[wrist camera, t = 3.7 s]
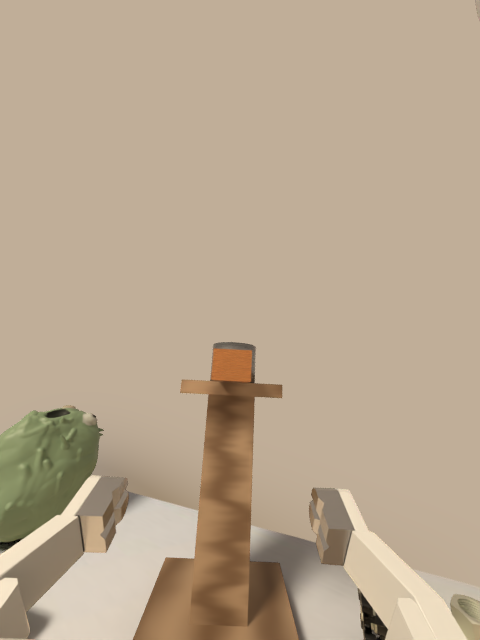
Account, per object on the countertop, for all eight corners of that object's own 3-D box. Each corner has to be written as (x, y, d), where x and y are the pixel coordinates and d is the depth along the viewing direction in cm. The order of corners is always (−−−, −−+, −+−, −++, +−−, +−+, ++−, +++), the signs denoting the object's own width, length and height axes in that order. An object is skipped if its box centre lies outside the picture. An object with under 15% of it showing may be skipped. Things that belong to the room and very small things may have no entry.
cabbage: (-89, 552, 33) (-35, 406, 38) (57, 499, 49) (80, 401, 55) (-50, 601, 26) (8, 415, 32) (104, 520, 42) (124, 407, 48)
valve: (501, 680, 22) (360, 625, 26) (483, 590, 23) (355, 554, 28) (564, 788, 16) (368, 694, 20) (534, 657, 18) (361, 598, 22)
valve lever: (252, 384, 34) (253, 350, 35) (266, 382, 19) (267, 326, 21) (212, 381, 34) (215, 348, 35) (195, 379, 19) (201, 322, 21)
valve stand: (279, 581, 31) (279, 385, 39) (305, 695, 20) (298, 385, 27) (163, 575, 31) (185, 380, 38) (121, 687, 20) (165, 378, 27)
